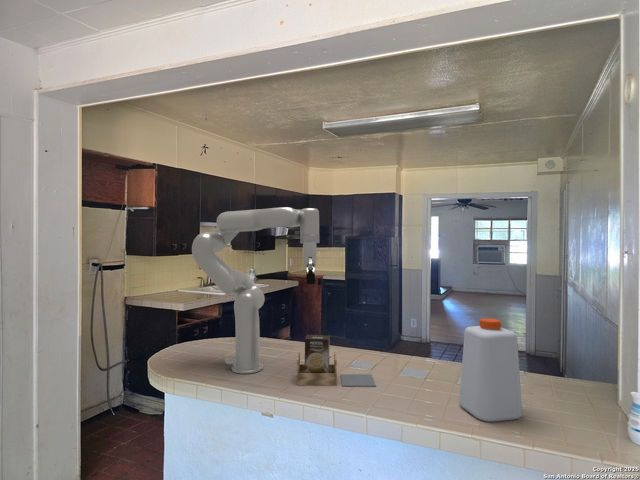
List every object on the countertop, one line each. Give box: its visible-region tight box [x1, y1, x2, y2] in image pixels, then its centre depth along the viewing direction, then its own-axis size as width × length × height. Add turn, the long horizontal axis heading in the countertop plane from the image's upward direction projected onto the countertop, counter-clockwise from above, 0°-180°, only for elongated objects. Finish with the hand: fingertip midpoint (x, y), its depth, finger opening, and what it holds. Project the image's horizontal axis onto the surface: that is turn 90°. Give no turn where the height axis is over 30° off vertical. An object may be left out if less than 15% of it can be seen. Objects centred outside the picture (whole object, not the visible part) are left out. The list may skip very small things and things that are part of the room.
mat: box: [339, 373, 377, 388], centre depth 149 cm, size 12×12×1 cm
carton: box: [296, 351, 338, 386], centre depth 150 cm, size 14×11×9 cm
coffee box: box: [304, 334, 331, 374], centre depth 150 cm, size 9×6×16 cm
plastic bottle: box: [458, 317, 523, 423], centre depth 123 cm, size 15×15×28 cm
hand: (310, 282), depth 159 cm, fingers open, 9 cm apart
